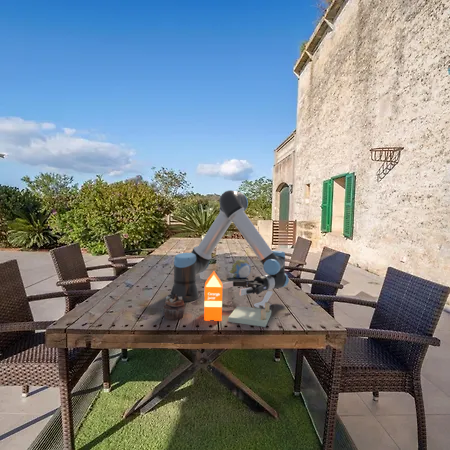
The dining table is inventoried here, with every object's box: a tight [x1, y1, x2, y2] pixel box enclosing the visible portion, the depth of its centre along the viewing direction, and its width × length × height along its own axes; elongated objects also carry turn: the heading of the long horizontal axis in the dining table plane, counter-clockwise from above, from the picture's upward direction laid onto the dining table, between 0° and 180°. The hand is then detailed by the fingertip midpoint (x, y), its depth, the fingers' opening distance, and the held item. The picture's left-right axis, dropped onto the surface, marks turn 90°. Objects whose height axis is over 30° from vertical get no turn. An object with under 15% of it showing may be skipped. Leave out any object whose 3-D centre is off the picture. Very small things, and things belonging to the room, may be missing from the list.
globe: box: [229, 259, 251, 279], centre depth 210 cm, size 13×15×14 cm
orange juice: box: [203, 270, 223, 322], centre depth 130 cm, size 8×9×20 cm
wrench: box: [253, 290, 274, 309], centre depth 158 cm, size 8×32×1 cm, turn 163°
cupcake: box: [162, 294, 186, 321], centre depth 129 cm, size 10×10×10 cm
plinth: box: [227, 301, 272, 328], centre depth 130 cm, size 16×16×6 cm
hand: (230, 289), depth 135 cm, fingers open, 13 cm apart
